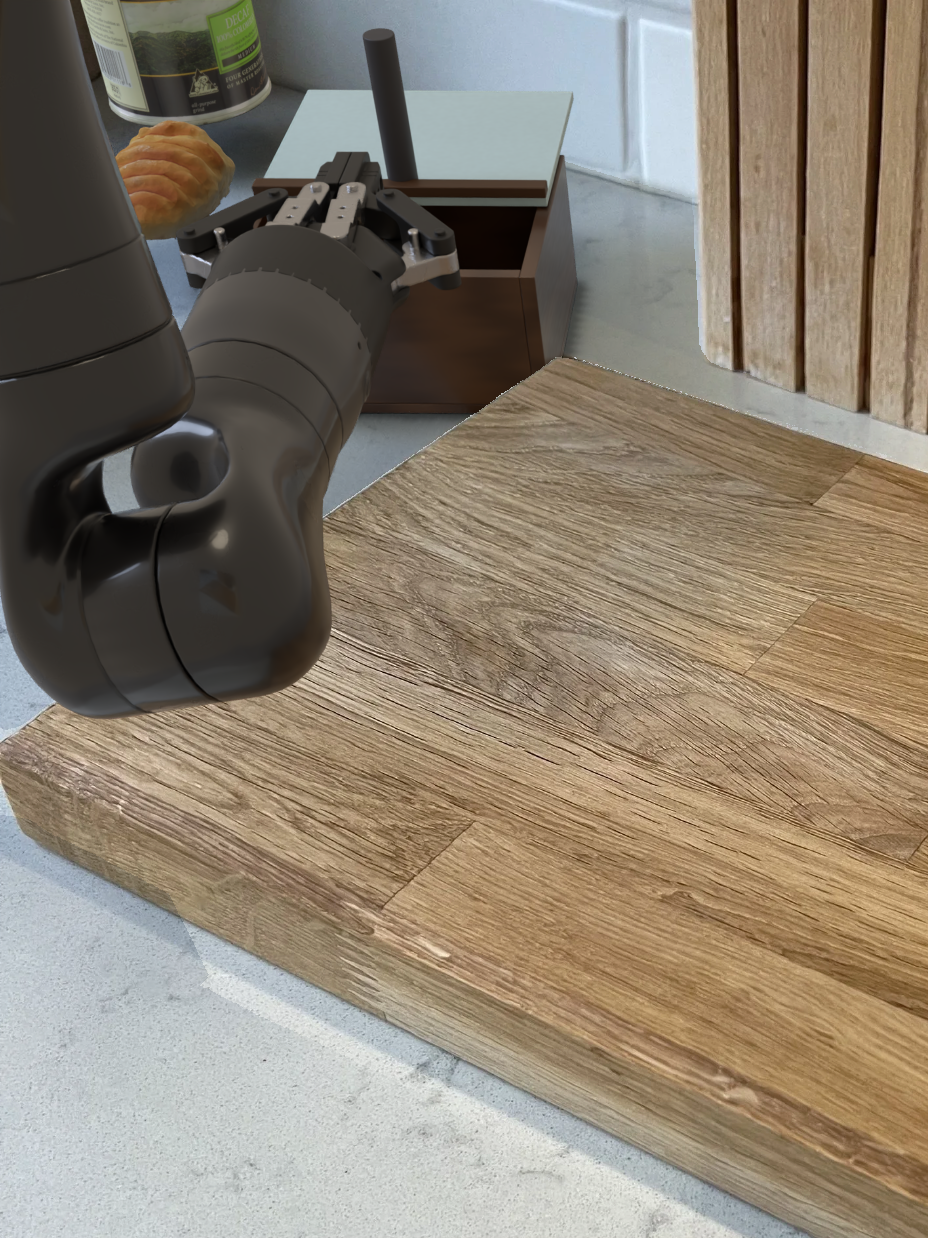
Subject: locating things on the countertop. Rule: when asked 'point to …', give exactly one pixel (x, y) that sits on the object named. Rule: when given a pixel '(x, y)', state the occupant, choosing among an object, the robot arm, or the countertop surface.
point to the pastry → (174, 177)
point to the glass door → (428, 137)
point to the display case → (482, 310)
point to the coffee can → (178, 58)
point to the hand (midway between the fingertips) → (356, 170)
